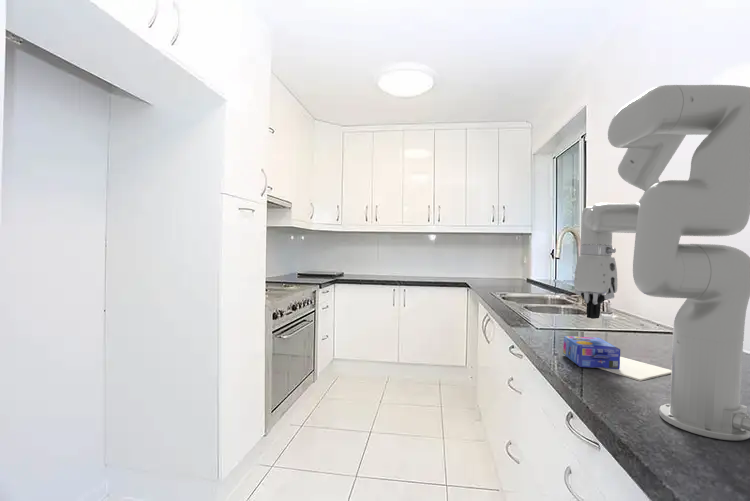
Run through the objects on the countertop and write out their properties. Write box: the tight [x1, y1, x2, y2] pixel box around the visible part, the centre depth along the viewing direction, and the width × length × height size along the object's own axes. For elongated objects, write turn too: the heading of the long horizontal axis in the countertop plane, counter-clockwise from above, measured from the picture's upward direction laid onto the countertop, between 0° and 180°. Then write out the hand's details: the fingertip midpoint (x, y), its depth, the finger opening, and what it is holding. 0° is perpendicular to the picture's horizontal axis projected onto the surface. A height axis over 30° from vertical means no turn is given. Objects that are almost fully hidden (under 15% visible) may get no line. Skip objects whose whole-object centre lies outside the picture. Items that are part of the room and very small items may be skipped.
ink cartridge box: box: [562, 335, 621, 369], centre depth 106 cm, size 10×6×14 cm
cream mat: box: [598, 356, 671, 382], centre depth 104 cm, size 16×15×1 cm
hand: (593, 317), depth 112 cm, fingers closed
